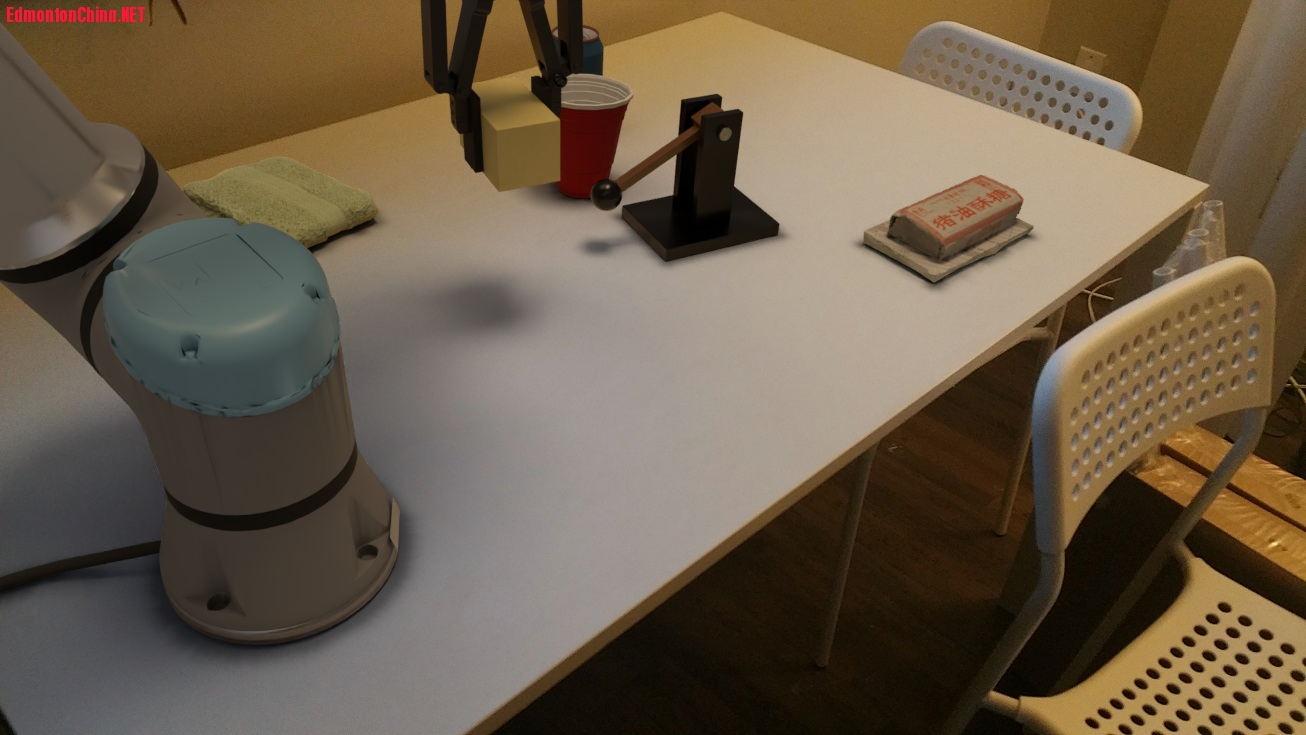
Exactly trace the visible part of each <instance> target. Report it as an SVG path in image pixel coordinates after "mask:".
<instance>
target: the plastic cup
mask: <svg viewBox="0 0 1306 735" xmlns="http://www.w3.org/2000/svg"><path fill="white" fill-rule="evenodd" d="M566 78H567V80H568V82H567V84H566V86H565V87H563V88H561V115H560V118H559V119H560V181H556V182H554V183H555V184H556V188H557V190H558V191H559V192H560V193H561V194H563V195H564V196H567V197H570V198H575V199H591V196H590V193H591V189H592V187H593V185H594V184H595V183H596V182H597V181H599V180H601V179H610V177H611V172H612V168H613V164H614V163H615V158H616V153H617V149H618V145H619V144H618V143H619V139H620V134H621V131H622V126H623V122H624V120H625V116H626V112H627V111H628V107H629V104H630V102H631V100H633V98H634V95H635V92H634V89H633V87H632V86H630V85H629V84H628V83H626V82H625V81H622V80H619V79H616V78H614V77H610V76H605V75H603V76H599V75H593V74H571V75H569V76H567V77H566Z"/></svg>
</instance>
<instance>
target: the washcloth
mask: <svg viewBox="0 0 1306 735" xmlns="http://www.w3.org/2000/svg"><path fill="white" fill-rule="evenodd" d="M182 188H183V189H182V191H183V192H184V193H185V194H186V195H187V196H188V198H189V199H190V200H191V201H192V202H193V203H194V204H195V205H196V206H197V207H198V208H199V209H200V210H201V211H202V212H203V213H204V214H205V215H206V216H207V217H208V218H231V219H236V220H237V221H238V222H239V224H240V226H245V225H248V224H250V223H252V222H257V223H261V224H264V225H268V226H271V227H273V228H276V229H278V230H280V231H282V232H285V233H287V234H288V235H290V236H292V237H293V238H295V239H296V240H298V241H299V242H300V243H302V244H303V245H304V246H305V247H306V248H307V249H308V248H310V247H313V246H316V245H318V244H321V243H323V242H327V240H328V238H329V237H331V236H333V235H336V234H338V233H340V232H344V231H349V230H350V229H353V228H354V227H356V226H359V225H362V224H364V223H366V222H369V221H372V219H373V218H376V217H377V216H378V214H379V209H378V207H377V204H376V202H375V200H374V198H373V197H372V195H371V194H370V193H369V192H368V191H367V190H364V189H362V188H359V187H356V186H353V185H348V184H346V183H343V182H342V181H339V180H338V179H336V177H334V176H331V175H328V174H326V173H323V172H321V171H318V170H315V169H313V168H311V167H309V166H307V165H305V164H303V163H302V162H300V161H298V160H296V159H294V158H292V157H289V156H280V155H279V156H278V155H277V156H270V157H266V158H263V159H261V160H258V161H255V162H252V163H247V164H243V165H238V166H234V167H230V168H227V169H226V168H225V169H223V170H221V171H219V172H218V173H217V174H216V175H214V176H212V177H211V178H208V179H203V180H197V181H190V182H187V183H186V184H184V186H183V187H182Z"/></svg>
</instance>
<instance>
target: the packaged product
mask: <svg viewBox="0 0 1306 735" xmlns="http://www.w3.org/2000/svg"><path fill="white" fill-rule="evenodd" d="M1023 203H1024V197H1023V196H1022V195H1021V193H1020V192H1018V190H1017V189H1016V188H1014V187H1010V186H1008V185H1006V184H1003V183H1001V182H999V181H998V180H996V179H994V178H991V177H989V176H986V175H984V174H979V175H976V176H974V177H972V178H969V179H967V180H965V181H962V182H961V183H958V184H955V185H953V186H950V187H949V188H946V189H944V190H942V191H940V192H936V193H934V194H933V195H929V196H928V197H926V198H924V199H921V200H918V201H917V202H914V203H912V204H910V205H907V206H905V207H902V208H899V209H898V210H896V211H894V212H893V213H892V214H891V216H890V218H889V219H888V220H886V221H883V222H881V223H879V224H876V225H874V226H872V227H871V228H868V229H867V228H866V229H865V230H864V231H863V244H865V245H867V246H869V247H871V248H873V249H875V250H876V251H879V252H881V253H883V255H886V256H888V257H889V258H892V259H893V260H896V261H897V262H899V263H901V264H903V265H904V266H907V267H908V268H910V269H912V270H914V271H915V272H918V273H919V274H921V275H922V276H923V277H925V279H928V280H929V281H930V282H932V283H933V284H935V283H936V282H939V281H940V280H942V279H943V278H945V277H946V276H948V275H949V274H951V273H954V272H955V271H957V270H958V269H960V268H963V267H965V266H968V265H970V264H972V263H974V262H976V261H978V260H980V259H983V258H985V257H988V256H992V255H995V254H997V253H998V252H999V251H1000V250H1001V249H1002V248H1004V246H1006V245H1008V244H1010V243H1012V242H1013V241H1015V240H1017V239H1020V238H1021V237H1023V236H1025V235H1027V234H1029V233H1031V232H1032V231H1033V230H1034V227H1035V226H1034V224H1033V225H1032V224H1030V223H1028V222H1026V221H1024V220H1022V219H1021V218H1019V217H1018V215H1019V214H1020V211H1021V210H1022V206H1023Z"/></svg>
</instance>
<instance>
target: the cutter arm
mask: <svg viewBox="0 0 1306 735" xmlns="http://www.w3.org/2000/svg"><path fill="white" fill-rule="evenodd" d="M722 111H725V110H724V109H723V108H722V107H721V108H720V107H719V106H717V105H716V104H715V103H713V102H711V103H710V104H708V105H707V106H706V107H704V108H703V109H701V110H700V111H698V112H697V113H695V114H694V115H693V116H691V120H692V122H693V124H694V126H692V127H691V128H689V129H688V130H686V131H685V132H684V133H682V134H681V135H679V136H678V135H677V136H676V137H675V138H674V139H672V140H671V141H669V142H668V143H666V144H665V145H663V146H662V147H661V148H659V149H658V150H656V151H655V152H653V153H652V154H651V155H649V156H647V157H646V158H645V159H644V160H642V161H641V162H639V163H637V164H636V165H635V166H633V167H631V168H630V169H629V170H628V171H626V172H625V173H623V174H622V175H621V176H618V178H616V179H615V180H614V179H611V178H609V179H601V180H599V181H597V182H596V183H595V184H594V185H593V187H592V189H591V193H590V196H591V198H590V201H591V203H592V204H593V206H594V207H595V208H596V209H598V210H600V211H602V212H610V211H613V210H615V209H616V208H618V207H619V206H620V204H621V202H622V200H623V193H624V192H626V190H628V189H629V188H631V187H632V186H634V185H635V184H637V183H638V182H639V181H641V180H642V179H644V178H646V177H647V176H649V175H650V174H651V173H652V172H654V171H655V170H657V169H658V168H660V167H661V166H663V165H664V164H665V163H666V162H668V161H670V160H672V159H673V158H674V157H676V155H677V154H678V153H680V152H681V151H682V150H684V149H685V148H687V147H688V146H690V145H691V144H692V143H694V142H695V141H697V140H698V139H699V133H700V123H701V115H704V114H710V113H716V112H722Z"/></svg>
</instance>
